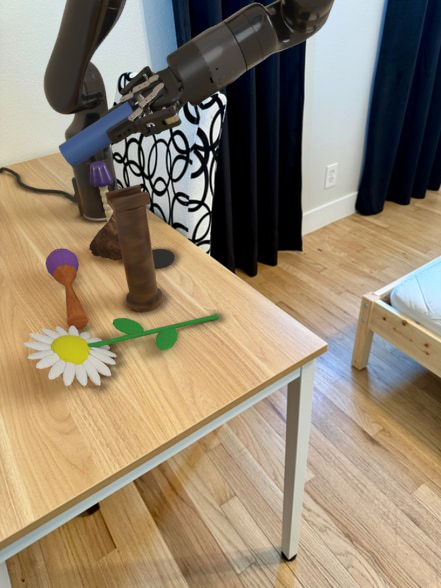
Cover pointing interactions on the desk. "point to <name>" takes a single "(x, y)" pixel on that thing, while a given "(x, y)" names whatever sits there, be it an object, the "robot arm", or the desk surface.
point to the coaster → (162, 258)
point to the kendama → (67, 284)
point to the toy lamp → (101, 183)
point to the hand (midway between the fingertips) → (107, 130)
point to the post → (135, 247)
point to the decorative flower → (93, 348)
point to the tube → (93, 137)
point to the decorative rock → (107, 242)
